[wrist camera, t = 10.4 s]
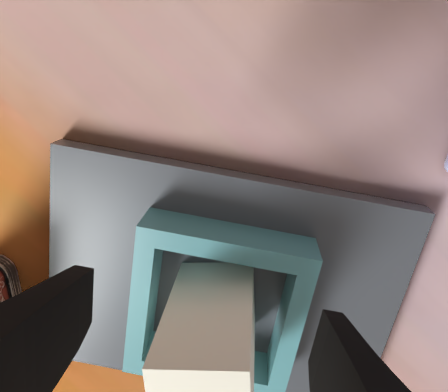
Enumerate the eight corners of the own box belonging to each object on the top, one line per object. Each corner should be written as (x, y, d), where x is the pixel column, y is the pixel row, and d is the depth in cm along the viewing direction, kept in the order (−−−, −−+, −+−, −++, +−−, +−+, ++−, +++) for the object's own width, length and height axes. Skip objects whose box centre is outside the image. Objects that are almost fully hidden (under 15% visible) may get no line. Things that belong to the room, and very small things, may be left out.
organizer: (426, 205, 21) (458, 235, 18) (353, 401, 26) (368, 454, 23) (61, 138, 22) (23, 155, 18) (57, 342, 26) (26, 386, 23)
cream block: (253, 262, 22) (249, 371, 14) (255, 323, 23) (252, 451, 16) (181, 262, 22) (142, 369, 15) (187, 322, 24) (153, 447, 16)
